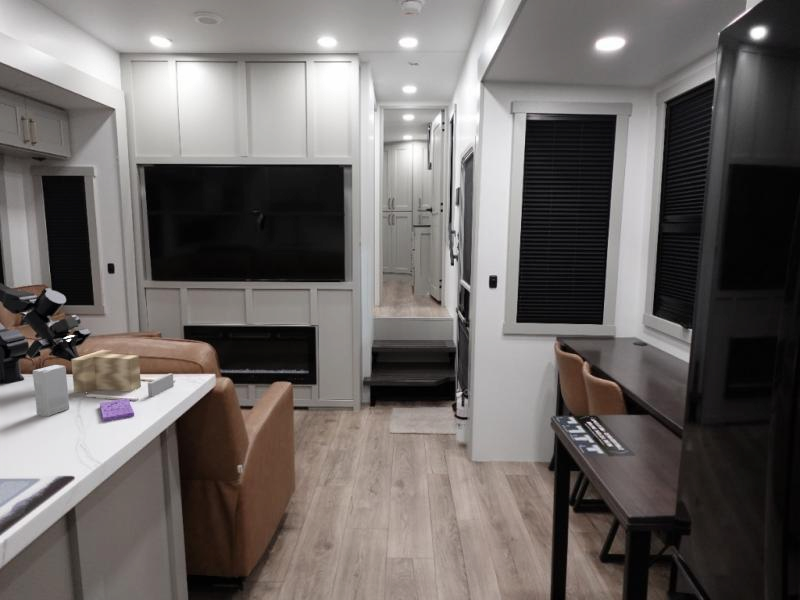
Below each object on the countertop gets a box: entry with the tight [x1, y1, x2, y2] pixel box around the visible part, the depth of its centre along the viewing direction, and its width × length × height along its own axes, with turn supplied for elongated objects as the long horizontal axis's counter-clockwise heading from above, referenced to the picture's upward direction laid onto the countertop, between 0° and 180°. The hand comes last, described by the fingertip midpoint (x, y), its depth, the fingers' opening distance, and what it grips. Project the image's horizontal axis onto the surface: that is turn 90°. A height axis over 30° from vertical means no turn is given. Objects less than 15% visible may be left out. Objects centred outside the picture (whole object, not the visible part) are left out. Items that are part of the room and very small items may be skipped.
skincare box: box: [32, 364, 70, 417], centre depth 128 cm, size 6×4×12 cm
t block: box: [70, 349, 142, 394], centre depth 149 cm, size 16×12×10 cm
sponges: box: [99, 398, 135, 423], centre depth 130 cm, size 7×13×2 cm, turn 35°
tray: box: [86, 372, 176, 402], centre depth 148 cm, size 18×18×4 cm
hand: (78, 362), depth 150 cm, fingers closed
